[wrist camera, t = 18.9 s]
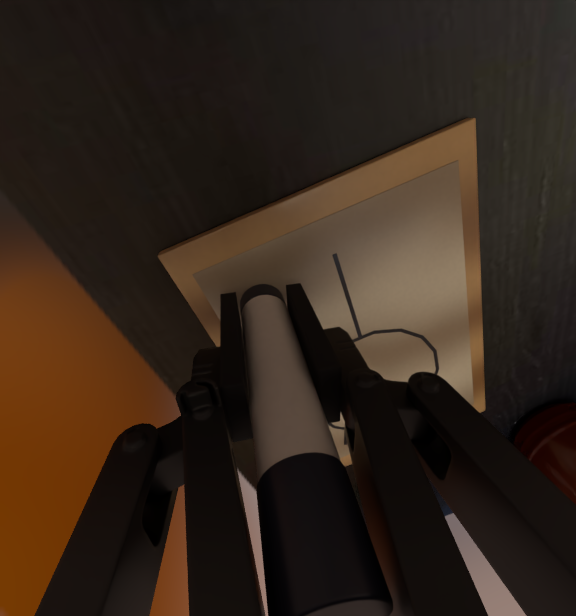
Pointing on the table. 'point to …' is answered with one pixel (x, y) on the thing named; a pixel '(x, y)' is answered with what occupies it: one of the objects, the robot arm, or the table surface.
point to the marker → (302, 480)
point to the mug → (552, 444)
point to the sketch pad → (366, 261)
